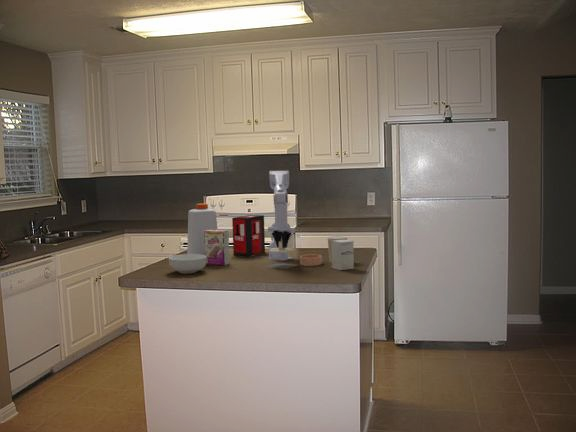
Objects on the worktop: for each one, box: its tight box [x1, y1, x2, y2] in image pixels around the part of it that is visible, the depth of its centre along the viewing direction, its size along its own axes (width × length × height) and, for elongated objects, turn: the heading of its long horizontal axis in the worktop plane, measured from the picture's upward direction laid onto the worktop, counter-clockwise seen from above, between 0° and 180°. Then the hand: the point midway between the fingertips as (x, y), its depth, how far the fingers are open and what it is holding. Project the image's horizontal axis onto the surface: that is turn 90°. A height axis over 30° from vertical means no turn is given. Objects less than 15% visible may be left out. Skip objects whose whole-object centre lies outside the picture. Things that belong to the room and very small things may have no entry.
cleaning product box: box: [231, 214, 266, 258], centre depth 303 cm, size 16×9×20 cm, turn 150°
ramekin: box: [299, 253, 322, 267], centre depth 269 cm, size 10×10×4 cm
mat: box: [263, 262, 299, 270], centre depth 265 cm, size 12×12×1 cm
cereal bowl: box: [168, 253, 207, 275], centre depth 258 cm, size 17×17×7 cm
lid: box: [268, 241, 295, 253], centre depth 265 cm, size 12×12×4 cm
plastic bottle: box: [186, 203, 219, 255], centre depth 292 cm, size 15×15×28 cm
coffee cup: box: [326, 235, 348, 264], centre depth 272 cm, size 9×9×12 cm
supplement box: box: [331, 239, 355, 271], centre depth 257 cm, size 7×7×13 cm
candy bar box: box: [204, 229, 230, 266], centre depth 275 cm, size 11×5×16 cm, turn 65°
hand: (281, 247), depth 265 cm, fingers closed on lid, 3 cm apart
